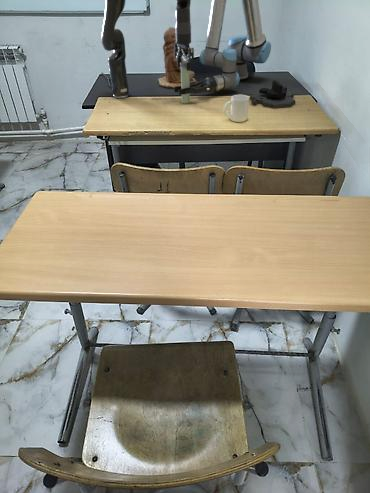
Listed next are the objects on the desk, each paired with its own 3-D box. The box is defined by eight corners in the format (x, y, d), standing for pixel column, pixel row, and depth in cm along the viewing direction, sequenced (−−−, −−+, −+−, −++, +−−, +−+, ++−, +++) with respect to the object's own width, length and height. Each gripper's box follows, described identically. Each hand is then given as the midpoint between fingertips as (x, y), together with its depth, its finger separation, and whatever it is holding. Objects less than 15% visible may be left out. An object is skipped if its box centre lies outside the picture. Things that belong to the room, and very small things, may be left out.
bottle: (180, 101, 197) (179, 63, 184) (187, 100, 198) (187, 62, 186) (183, 104, 193) (182, 65, 181) (191, 102, 195) (190, 64, 182)
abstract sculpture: (259, 90, 177) (247, 79, 193) (257, 109, 183) (245, 97, 198) (307, 86, 180) (291, 76, 195) (303, 105, 186) (288, 93, 201)
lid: (190, 64, 186) (190, 60, 185) (189, 67, 182) (189, 63, 181) (180, 64, 186) (180, 61, 185) (179, 67, 182) (179, 63, 181)
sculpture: (197, 88, 213) (196, 30, 194) (156, 89, 214) (152, 31, 194) (196, 75, 234) (196, 22, 215) (159, 76, 235) (156, 23, 215)
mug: (224, 123, 170) (225, 101, 163) (221, 117, 176) (221, 95, 170) (249, 121, 171) (251, 99, 165) (244, 115, 177) (246, 93, 171)
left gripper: (168, 31, 176) (170, 67, 187) (185, 35, 167) (186, 72, 178) (181, 29, 179) (182, 64, 190) (198, 33, 170) (198, 70, 181)
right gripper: (222, 95, 194) (184, 103, 186) (205, 86, 206) (169, 94, 198) (222, 80, 189) (184, 87, 181) (205, 72, 201) (168, 79, 193)
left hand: (184, 68), depth 184 cm, fingers open, 7 cm apart
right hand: (176, 91), depth 189 cm, fingers closed on bottle, 5 cm apart
